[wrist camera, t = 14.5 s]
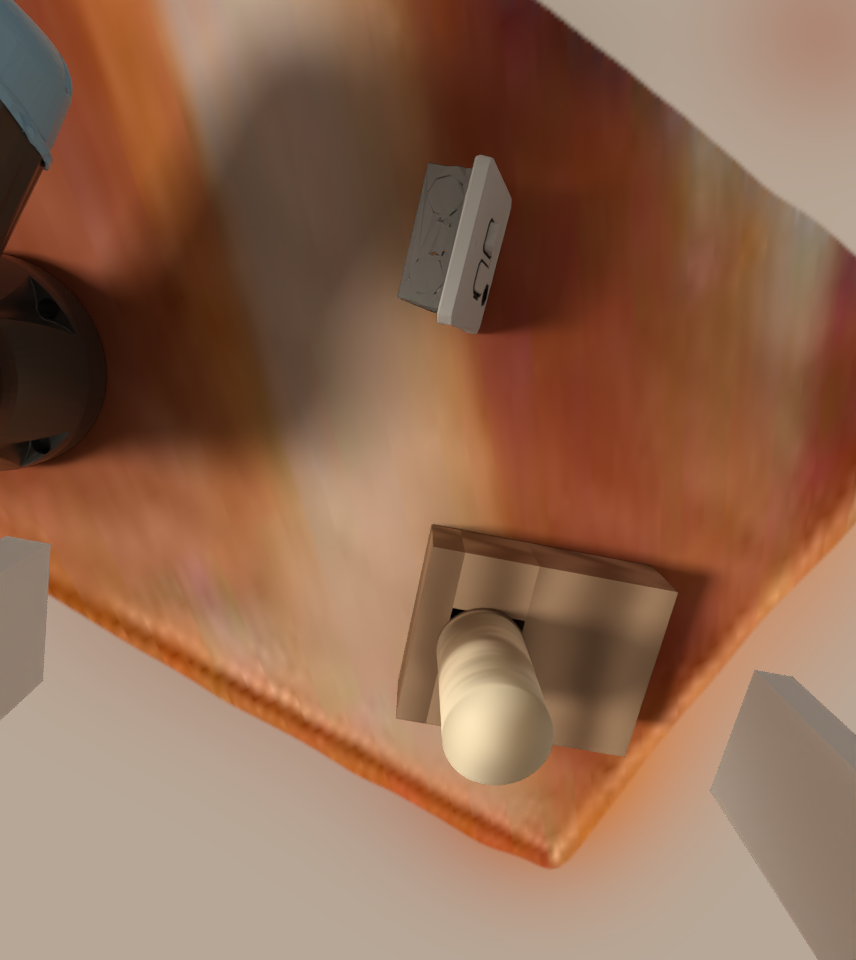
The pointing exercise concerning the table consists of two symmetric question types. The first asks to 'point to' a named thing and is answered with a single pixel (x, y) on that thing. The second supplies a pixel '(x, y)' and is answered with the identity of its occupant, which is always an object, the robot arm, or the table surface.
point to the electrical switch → (456, 242)
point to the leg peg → (490, 699)
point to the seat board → (545, 629)
